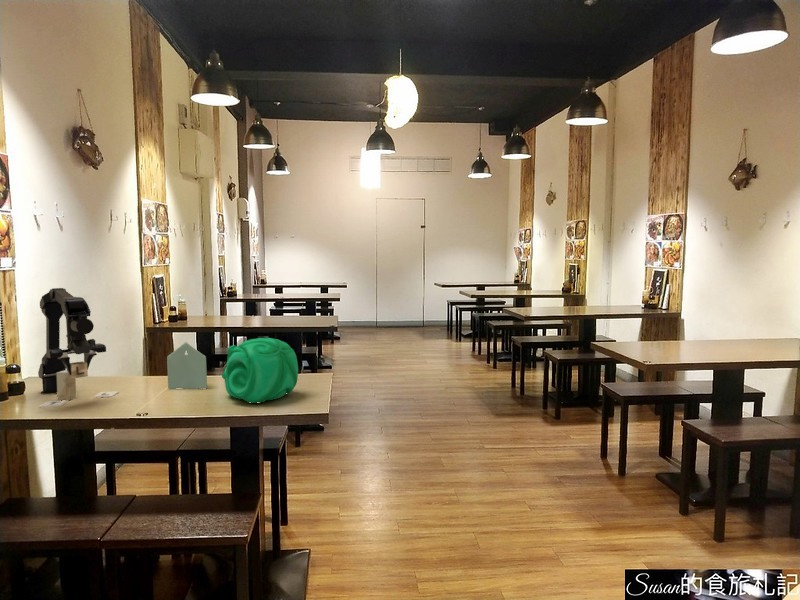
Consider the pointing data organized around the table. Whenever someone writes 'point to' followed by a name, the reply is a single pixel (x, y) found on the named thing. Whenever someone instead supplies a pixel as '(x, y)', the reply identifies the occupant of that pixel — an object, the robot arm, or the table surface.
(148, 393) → the table surface
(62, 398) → the box
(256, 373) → the sculpture
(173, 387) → the house-shaped tag
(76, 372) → the letter cube
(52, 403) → the pad
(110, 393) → the pad
